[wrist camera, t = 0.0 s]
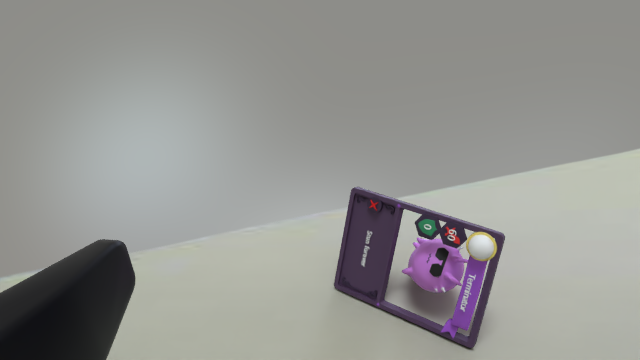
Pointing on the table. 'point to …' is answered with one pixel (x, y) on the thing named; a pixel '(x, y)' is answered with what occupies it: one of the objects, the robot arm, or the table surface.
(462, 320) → the game card
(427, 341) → the table surface
